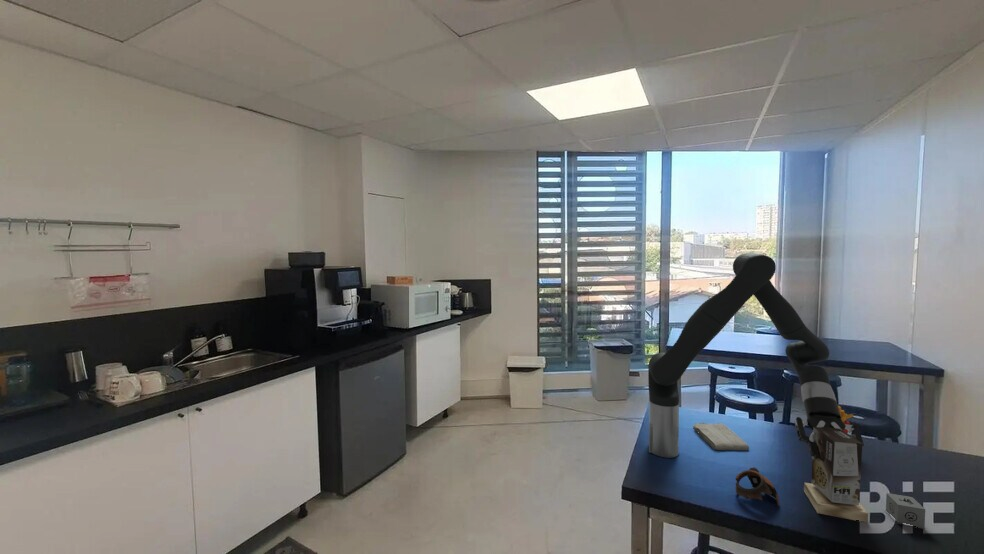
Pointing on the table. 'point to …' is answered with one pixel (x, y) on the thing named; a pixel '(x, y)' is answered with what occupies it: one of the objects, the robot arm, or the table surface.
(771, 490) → the pottery mug
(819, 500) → the riser
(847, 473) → the coffee box
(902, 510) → the dice cube
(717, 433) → the washcloth
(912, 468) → the table surface
